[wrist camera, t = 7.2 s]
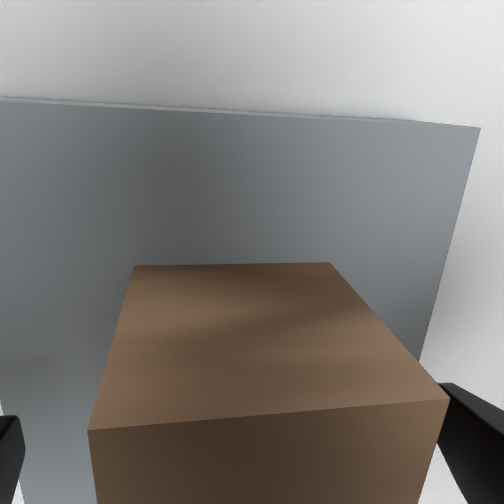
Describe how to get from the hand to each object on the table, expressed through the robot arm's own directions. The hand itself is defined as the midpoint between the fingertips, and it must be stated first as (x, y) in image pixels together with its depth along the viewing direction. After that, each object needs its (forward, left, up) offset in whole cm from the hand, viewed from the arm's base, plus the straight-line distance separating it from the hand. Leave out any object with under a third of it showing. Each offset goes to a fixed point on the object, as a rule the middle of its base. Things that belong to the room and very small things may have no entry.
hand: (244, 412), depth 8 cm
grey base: (0, 0, -6) cm, 6 cm away
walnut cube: (0, 0, -2) cm, 3 cm away
